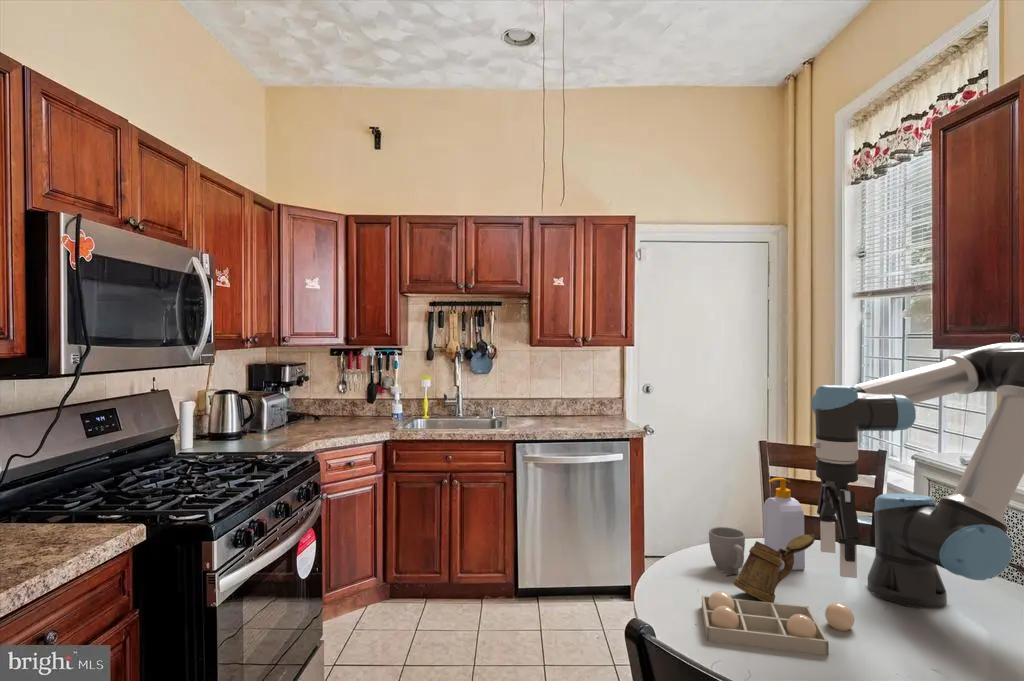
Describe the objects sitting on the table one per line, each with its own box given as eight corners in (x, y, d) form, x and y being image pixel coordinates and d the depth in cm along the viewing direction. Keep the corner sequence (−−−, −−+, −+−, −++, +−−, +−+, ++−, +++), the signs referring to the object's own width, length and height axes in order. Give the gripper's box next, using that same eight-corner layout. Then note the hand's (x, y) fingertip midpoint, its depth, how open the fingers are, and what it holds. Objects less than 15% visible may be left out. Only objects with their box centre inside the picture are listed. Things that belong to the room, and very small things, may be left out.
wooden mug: (799, 617, 121) (827, 539, 123) (743, 592, 121) (771, 514, 124) (778, 602, 130) (804, 530, 132) (726, 579, 130) (752, 507, 132)
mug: (703, 563, 149) (703, 527, 149) (734, 561, 150) (734, 526, 150) (725, 582, 137) (724, 542, 137) (759, 580, 138) (758, 541, 138)
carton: (808, 621, 117) (808, 606, 117) (828, 658, 103) (828, 641, 103) (701, 609, 123) (701, 595, 123) (707, 643, 109) (706, 627, 109)
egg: (849, 624, 115) (849, 599, 115) (858, 637, 110) (857, 611, 110) (822, 621, 117) (821, 597, 117) (829, 634, 112) (828, 608, 112)
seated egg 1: (732, 612, 120) (732, 588, 120) (736, 624, 115) (735, 598, 115) (707, 609, 121) (707, 585, 121) (709, 621, 116) (709, 596, 116)
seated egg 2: (737, 628, 113) (736, 602, 113) (740, 641, 108) (740, 614, 108) (710, 625, 114) (710, 599, 115) (712, 637, 109) (712, 611, 110)
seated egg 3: (812, 637, 109) (812, 610, 110) (820, 650, 104) (819, 623, 105) (784, 633, 111) (783, 607, 111) (790, 647, 106) (789, 619, 106)
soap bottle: (761, 558, 152) (760, 474, 153) (786, 557, 153) (784, 474, 153) (779, 571, 143) (778, 482, 144) (805, 570, 144) (803, 482, 144)
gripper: (801, 448, 127) (802, 541, 127) (834, 472, 103) (835, 586, 103) (838, 450, 125) (839, 544, 125) (880, 474, 101) (881, 591, 101)
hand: (837, 563), depth 114 cm, fingers open, 13 cm apart
